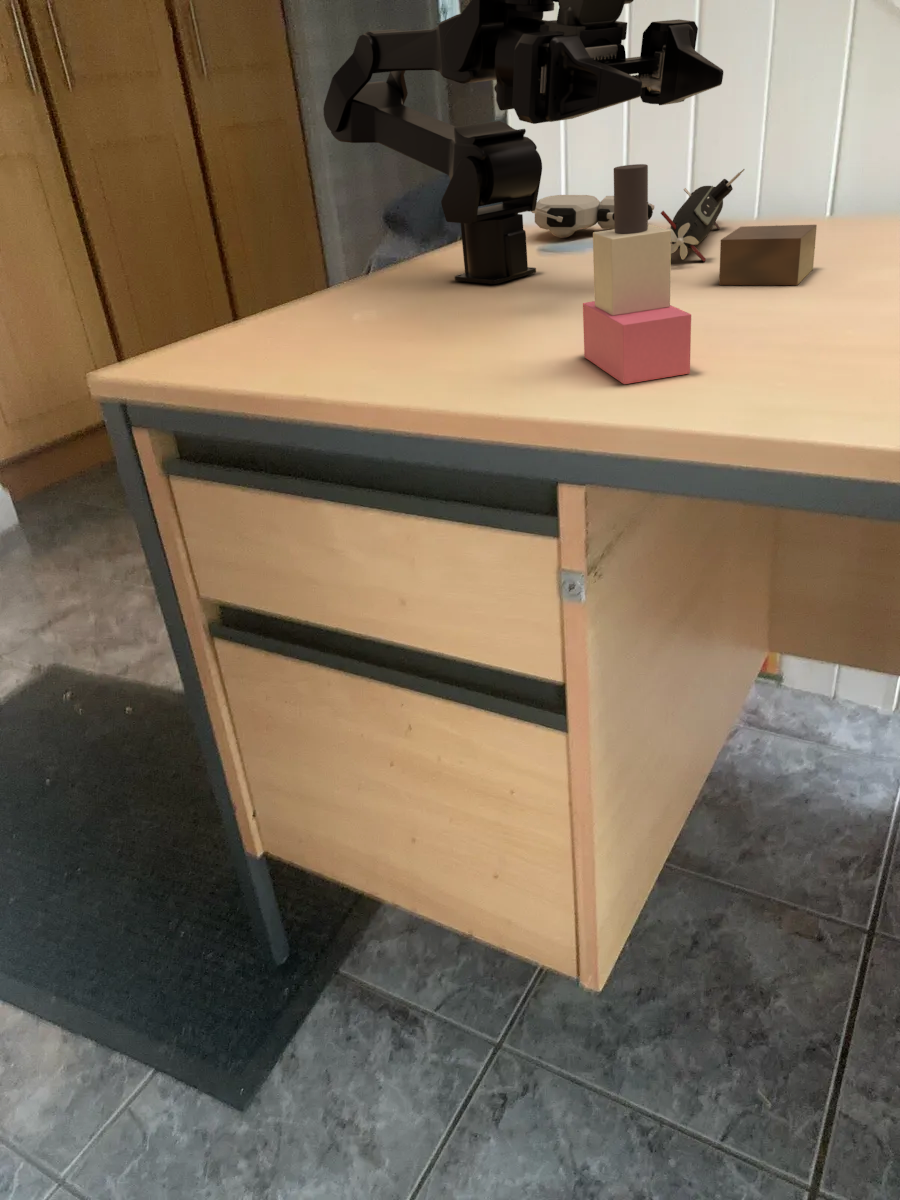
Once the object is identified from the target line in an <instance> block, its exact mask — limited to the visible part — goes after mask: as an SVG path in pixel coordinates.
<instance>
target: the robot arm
mask: <svg viewBox="0 0 900 1200" xmlns="http://www.w3.org/2000/svg"><path fill="white" fill-rule="evenodd" d="M634 1H635V0H470V2H469V3H467V5H466V7H465V8H464V9H463V11H462V12H461V13H458V14H455V15H453V16H451V17H448V18H446V19H443V20H442V21H440V22H439V23H438V25H437V26H436V27H433V28H429V29H416V30H399V29H397V28H392V29H379V30H367V31H365V32H364V33H362V34H361V35H359V36H358V38H357V40H356V43H355V46H354V49H353V52H352V54H351V55H350V56H349V57H348V58H347V60H346V61H345V62H344V63H343V64H342V65H341V66H340V68H338V70H337V71H336V72H335V73H334V75H333V76H332V78H331V81H330V84H329V87H328V90H327V93H326V97H325V100H324V104H323V119H324V122H325V125H326V127H327V129H328V130H329V131H330V134H331V135H332V137H333V138H334V139H336V140H337V141H338V142H341V143H349V144H350V143H352V144H361V143H362V144H374V143H375V144H380V145H382V146H384V147H387V148H389V149H390V150H393V151H395V152H397V153H400V154H402V155H404V156H406V157H408V158H410V159H413V160H415V161H417V162H418V163H420V164H423V165H426V166H428V167H430V168H432V169H434V170H436V171H438V172H441V173H443V174H445V175H447V176H448V178H449V183H448V185H447V187H446V189H445V192H444V194H443V196H442V198H441V201H440V204H441V208H442V211H443V215H444V218H445V219H444V220H445V221H446V223H457V224H460V233H461V243H462V244H461V245H462V255H463V267H464V272H463V273H460V274H456V275H454V281H458V282H467V283H469V282H470V283H477V284H478V283H479V284H488V285H497V284H501V283H505V282H508V281H511V280H515V279H518V278H522V277H525V276H529V275H532V274H536V273H537V268H536V267H531V266H530V267H529V265H528V264H529V263H528V250H527V249H528V248H527V247H528V246H527V232H526V230H525V229H524V215H523V213H526V212H528V213H529V212H531V211H535V209H536V203H537V202H538V197H539V191H540V185H541V179H542V172H543V162H542V158H541V155H540V153H539V152H538V150H537V148H538V146H537V145H536V143H535V142H534V140H532V139H531V138H529V137H528V136H525V134H526V132H527V130H526V128H519V129H515V128H514V127H512V126H511V125H509V124H507V123H506V122H505V121H500V120H495V121H489V122H482V123H481V122H480V123H474V124H468V125H461V126H455V125H452V124H449V123H448V122H445V121H443V120H441V119H438V118H435V117H433V116H431V115H429V114H425V113H423V112H420V111H418V110H416V109H414V108H411V107H408V106H406V105H405V103H406V100H407V97H408V88H407V83H406V78H405V73H406V71H435V72H438V73H440V76H442V77H443V78H444V79H447V80H449V81H452V82H455V83H458V84H463V85H464V84H472V83H480V82H489V81H496V84H495V86H494V91H495V93H496V96H495V97H496V98H495V101H496V104H497V107H498V109H499V111H508V110H514V112H515V114H516V116H517V119H518V120H519V121H521V122H525V123H529V124H533V125H536V124H542V123H553V122H554V123H555V122H561V121H566V120H567V121H568V120H572V119H573V120H574V119H576V118H579V117H582V116H586V115H588V114H589V115H590V114H592V113H594V112H597V111H601V110H604V109H607V108H611V107H614V106H617V105H620V104H623V103H626V102H629V101H632V100H635V99H638V98H640V100H641V102H642V103H644V104H650V105H658V106H665V105H672V104H679V103H682V102H685V100H686V99H689V98H691V97H693V96H696V95H698V94H702V93H704V92H706V91H710V90H712V89H715V88H717V87H720V86H721V85H722V84H723V79H724V70H723V69H722V68H721V67H719V66H718V65H717V64H715V63H714V62H712V60H709V59H708V58H707V57H704V56H703V55H702V54H700V53H699V52H698V51H697V50H696V45H697V39H698V31H699V27H698V26H697V23H696V21H695V20H686V19H680V18H679V19H670V20H669V19H667V20H657V21H651V22H650V24H649V25H648V26H647V27H646V29H645V30H643V32H642V37H641V45H640V46H641V47H640V56H633V57H627V54H626V48H625V46H624V44H623V43H622V41H625V40H626V39H627V33H628V32H627V31H628V22H627V21H619V20H618V19H619V18H620V17H621V15H622V12H623V10H624V6H625V5H628V4H631V3H633V2H634ZM555 3H558V11H557V17H556V19H555V20H554V19H552V20H546V19H543V18H544V13H547V12H553V11H555ZM380 73H381V74H382V73H389V74H388V76H387V79H386V81H382V80H381V81H373V82H370V81H371V79H372V77H373V74H380ZM531 213H532V212H531Z"/></svg>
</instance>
